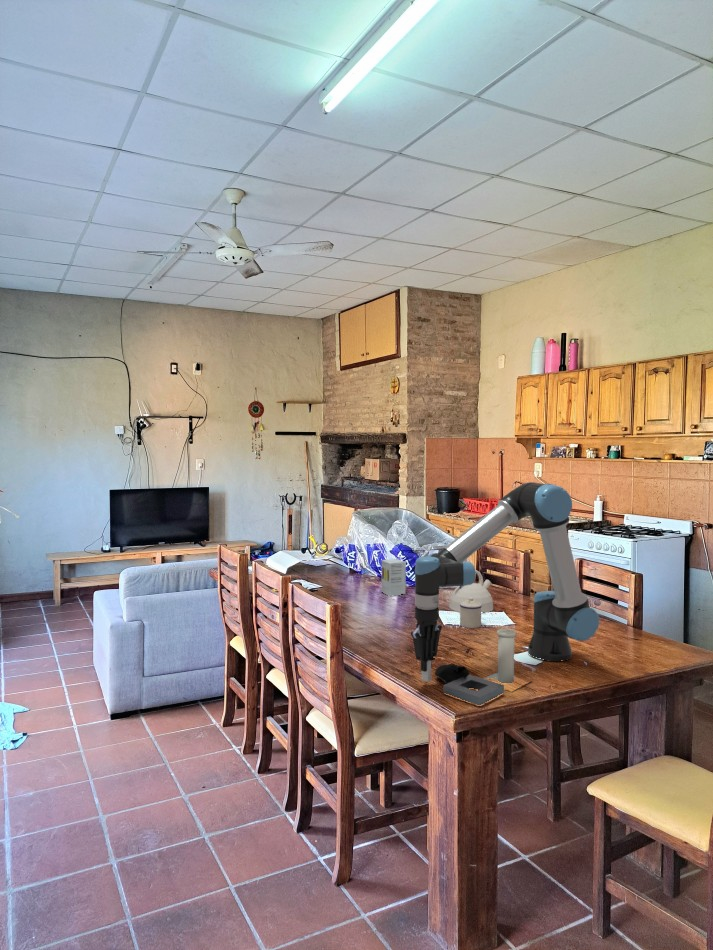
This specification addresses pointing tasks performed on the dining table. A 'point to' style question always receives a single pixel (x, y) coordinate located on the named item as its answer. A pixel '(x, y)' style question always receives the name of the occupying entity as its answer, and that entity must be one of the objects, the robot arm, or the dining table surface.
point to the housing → (462, 691)
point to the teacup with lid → (470, 613)
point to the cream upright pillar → (506, 655)
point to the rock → (451, 672)
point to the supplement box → (393, 577)
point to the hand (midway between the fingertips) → (426, 680)
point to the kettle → (473, 595)
